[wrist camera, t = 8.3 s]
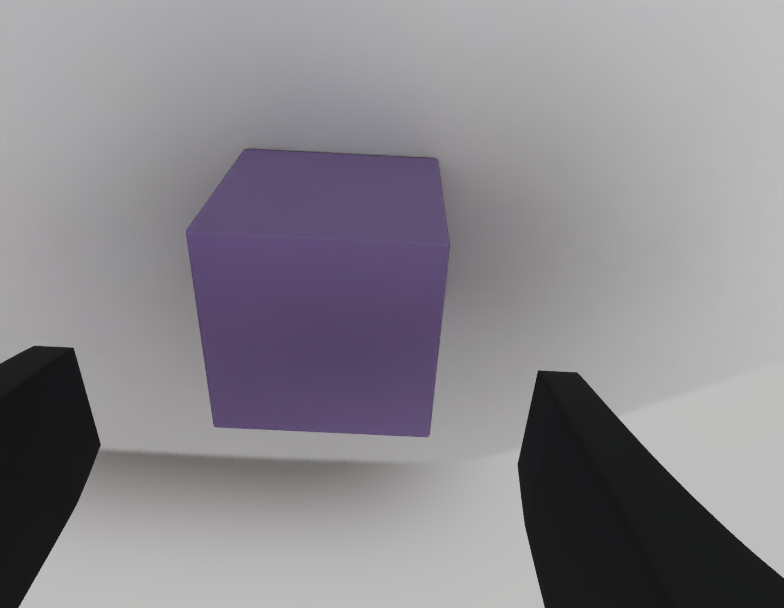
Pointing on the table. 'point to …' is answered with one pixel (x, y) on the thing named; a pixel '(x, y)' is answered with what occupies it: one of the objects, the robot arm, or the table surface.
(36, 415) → the robot arm
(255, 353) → the block
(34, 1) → the table surface
